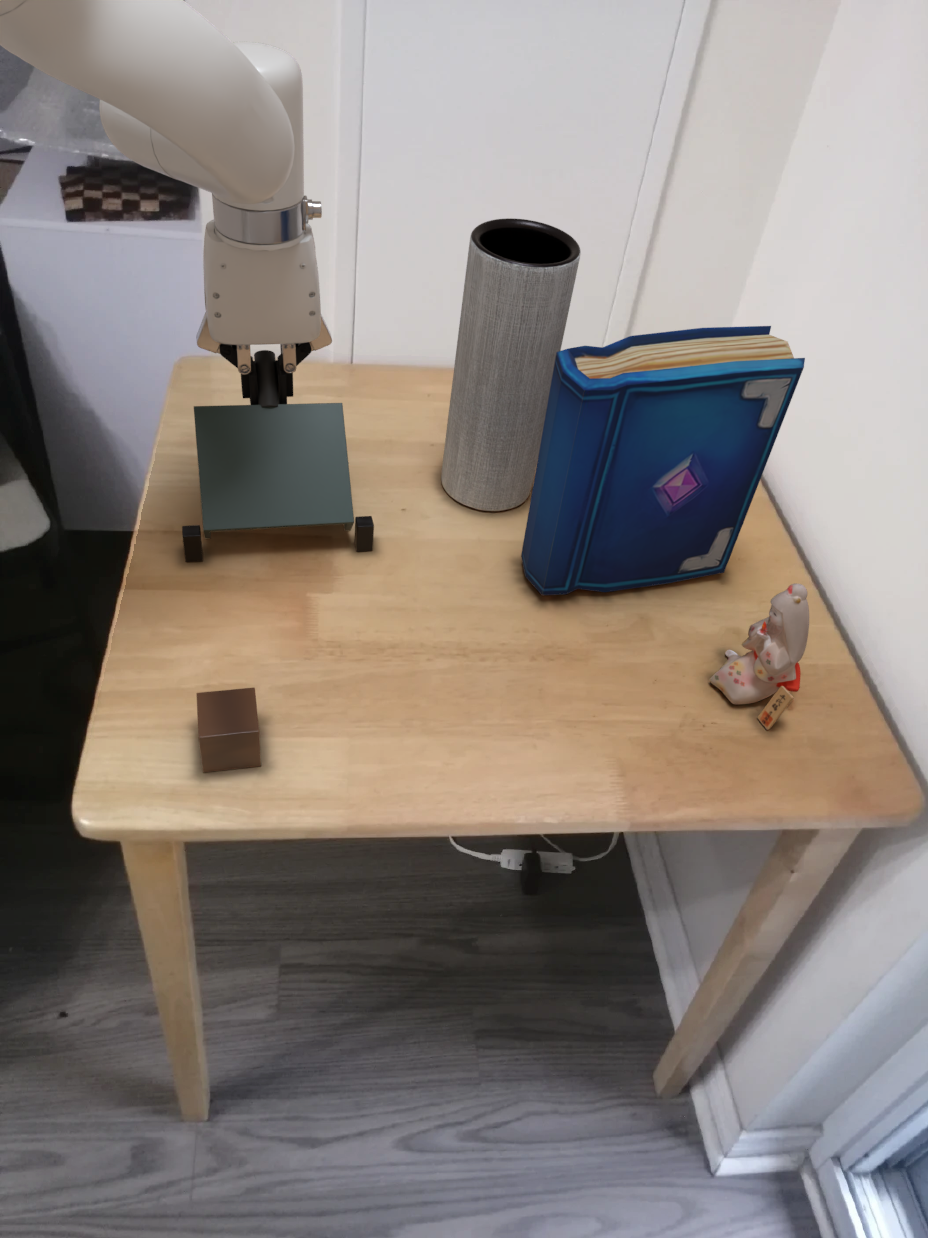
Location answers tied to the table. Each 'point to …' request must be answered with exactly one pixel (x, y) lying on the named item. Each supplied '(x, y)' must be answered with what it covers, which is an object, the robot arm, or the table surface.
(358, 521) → the pair of dark blocks
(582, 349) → the book
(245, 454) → the dustpan
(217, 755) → the block
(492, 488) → the planter
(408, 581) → the table surface
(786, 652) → the figurine
